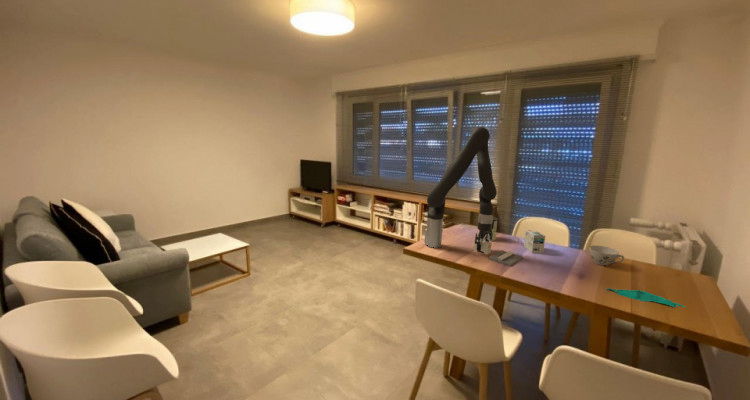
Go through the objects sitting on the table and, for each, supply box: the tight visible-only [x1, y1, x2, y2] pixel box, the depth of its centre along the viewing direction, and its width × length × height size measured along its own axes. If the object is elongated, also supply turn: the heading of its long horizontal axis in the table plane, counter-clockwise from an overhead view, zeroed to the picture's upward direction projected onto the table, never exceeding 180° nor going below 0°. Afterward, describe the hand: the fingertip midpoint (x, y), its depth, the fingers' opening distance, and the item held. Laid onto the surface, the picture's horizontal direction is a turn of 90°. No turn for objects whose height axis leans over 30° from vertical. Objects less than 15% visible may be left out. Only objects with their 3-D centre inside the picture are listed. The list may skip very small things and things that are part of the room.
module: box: [473, 240, 493, 255], centre depth 178 cm, size 8×4×6 cm, turn 42°
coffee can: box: [484, 215, 499, 242], centre depth 201 cm, size 10×10×14 cm
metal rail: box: [497, 251, 515, 261], centre depth 169 cm, size 3×14×1 cm, turn 132°
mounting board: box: [487, 250, 525, 267], centre depth 169 cm, size 12×16×1 cm
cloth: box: [605, 288, 686, 308], centre depth 131 cm, size 26×14×2 cm, turn 46°
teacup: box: [589, 245, 625, 267], centre depth 164 cm, size 15×12×8 cm
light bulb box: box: [523, 229, 546, 254], centre depth 182 cm, size 11×7×11 cm, turn 179°
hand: (482, 248), depth 179 cm, fingers open, 8 cm apart
